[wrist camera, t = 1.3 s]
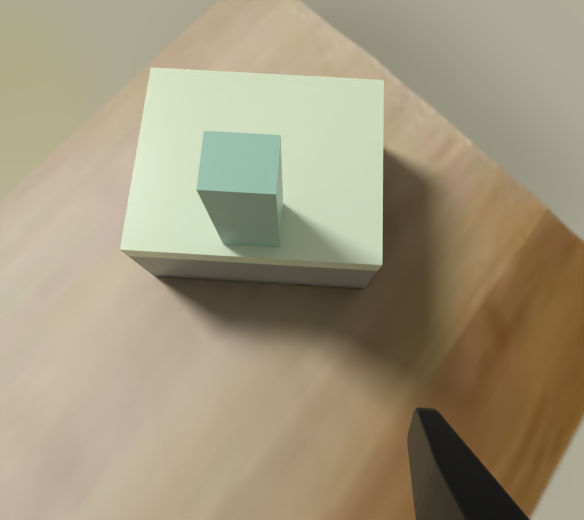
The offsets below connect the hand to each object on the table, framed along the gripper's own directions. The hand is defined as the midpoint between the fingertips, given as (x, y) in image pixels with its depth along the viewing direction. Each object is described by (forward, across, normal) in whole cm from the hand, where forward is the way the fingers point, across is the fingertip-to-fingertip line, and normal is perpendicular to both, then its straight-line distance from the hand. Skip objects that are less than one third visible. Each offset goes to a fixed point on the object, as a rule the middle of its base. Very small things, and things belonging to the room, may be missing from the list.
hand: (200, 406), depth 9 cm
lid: (+13, 0, -1) cm, 13 cm away
